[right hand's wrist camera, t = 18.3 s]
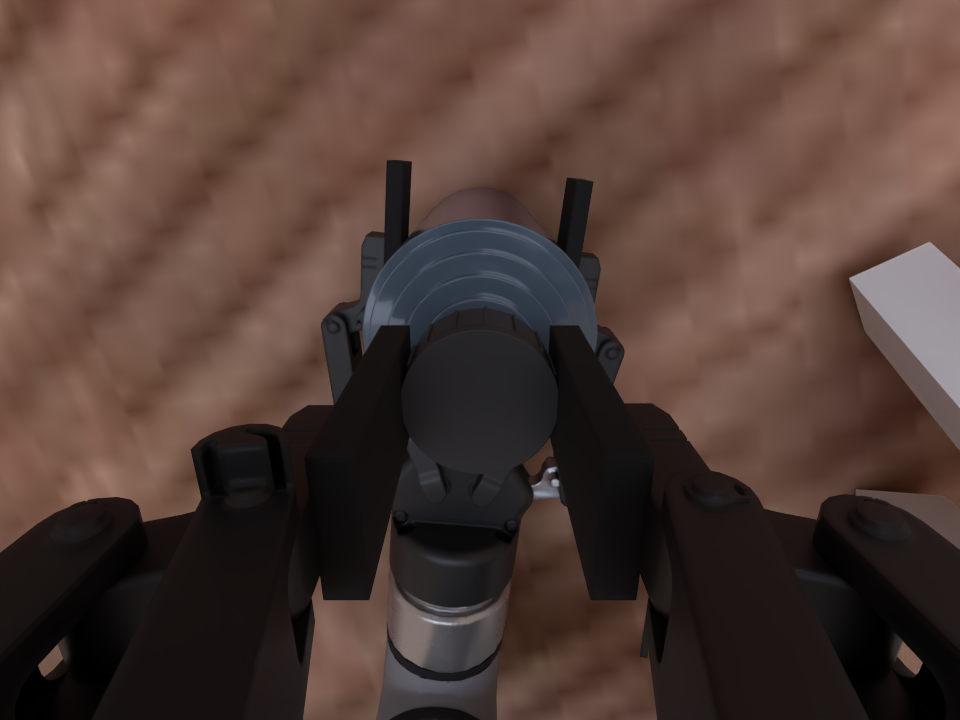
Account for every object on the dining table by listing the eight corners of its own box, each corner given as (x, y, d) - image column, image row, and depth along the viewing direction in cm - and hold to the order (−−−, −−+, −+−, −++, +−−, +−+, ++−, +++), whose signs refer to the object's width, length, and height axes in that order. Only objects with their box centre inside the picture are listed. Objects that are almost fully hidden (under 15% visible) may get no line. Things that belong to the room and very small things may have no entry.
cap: (509, 279, 13) (513, 297, 12) (575, 400, 14) (588, 433, 13) (380, 350, 14) (366, 377, 12) (454, 459, 15) (451, 499, 13)
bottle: (564, 270, 33) (688, 436, 13) (463, 334, 34) (441, 567, 15) (498, 160, 30) (531, 169, 11) (393, 234, 32) (259, 355, 13)
